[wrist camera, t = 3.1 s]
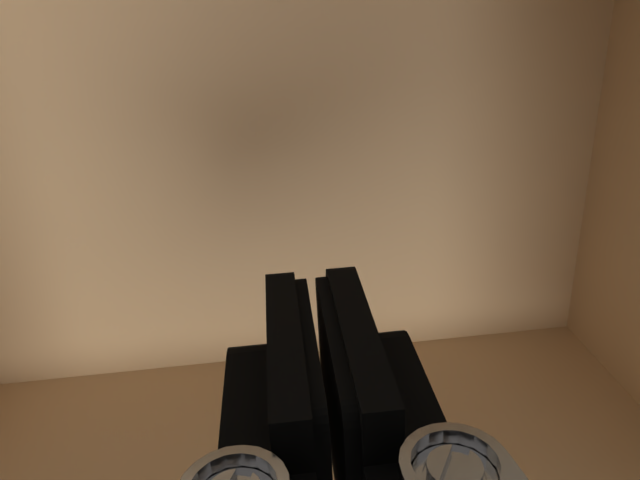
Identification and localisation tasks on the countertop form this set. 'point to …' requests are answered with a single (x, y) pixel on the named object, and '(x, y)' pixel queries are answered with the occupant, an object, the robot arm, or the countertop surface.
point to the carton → (317, 215)
